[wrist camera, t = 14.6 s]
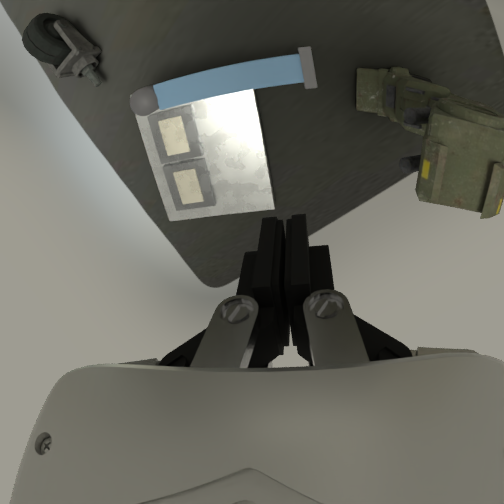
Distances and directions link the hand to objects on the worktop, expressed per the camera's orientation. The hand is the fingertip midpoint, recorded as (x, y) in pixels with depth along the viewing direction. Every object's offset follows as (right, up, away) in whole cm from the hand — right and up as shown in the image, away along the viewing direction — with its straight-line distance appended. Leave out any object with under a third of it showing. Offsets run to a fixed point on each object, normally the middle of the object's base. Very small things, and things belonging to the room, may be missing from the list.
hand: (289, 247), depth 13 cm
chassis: (-8, +14, +29) cm, 34 cm away
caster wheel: (-26, +29, +21) cm, 44 cm away
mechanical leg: (+16, +21, +22) cm, 34 cm away
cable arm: (-5, +19, +19) cm, 27 cm away
